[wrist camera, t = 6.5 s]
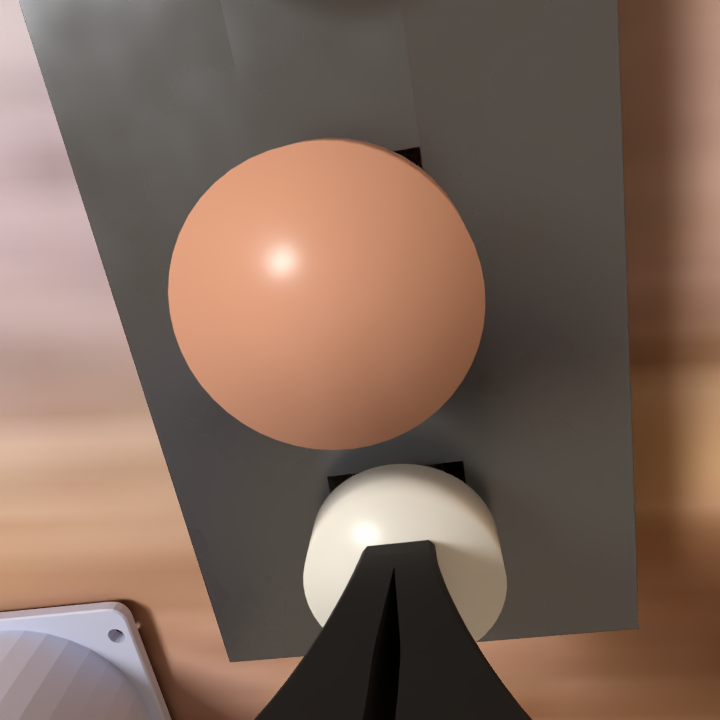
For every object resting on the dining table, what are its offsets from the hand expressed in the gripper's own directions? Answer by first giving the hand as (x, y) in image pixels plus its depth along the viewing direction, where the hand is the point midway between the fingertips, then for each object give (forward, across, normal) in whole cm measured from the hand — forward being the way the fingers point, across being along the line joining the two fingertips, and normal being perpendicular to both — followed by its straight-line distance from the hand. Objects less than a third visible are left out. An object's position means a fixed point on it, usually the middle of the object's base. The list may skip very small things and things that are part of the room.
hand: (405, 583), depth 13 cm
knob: (+4, 0, 0) cm, 4 cm away
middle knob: (+2, 0, -7) cm, 7 cm away
